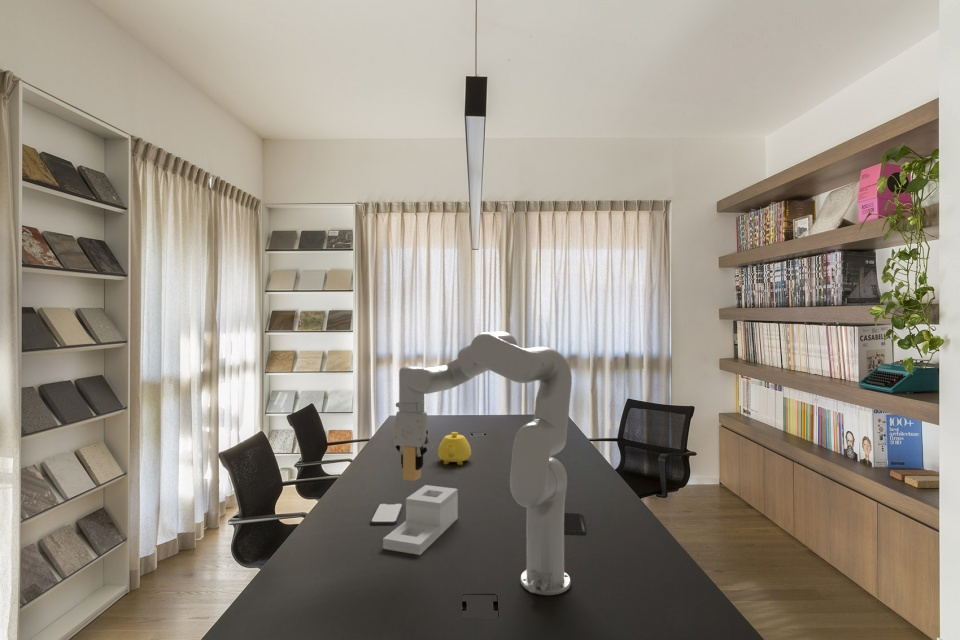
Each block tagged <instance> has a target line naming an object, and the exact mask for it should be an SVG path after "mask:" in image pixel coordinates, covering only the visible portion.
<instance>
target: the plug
mask: <svg viewBox="0 0 960 640" xmlns="http://www.w3.org/2000/svg"><path fill="white" fill-rule="evenodd" d="M416 456H417V451H416V447H409V446H403V468H402V480H403V481H405V480H406V481H411V482H412V481H413V482H416V481H418V480H419V479H420V478H422V468H421V469H419V470H416Z"/></svg>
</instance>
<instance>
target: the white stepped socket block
mask: <svg viewBox="0 0 960 640" xmlns="http://www.w3.org/2000/svg"><path fill="white" fill-rule="evenodd" d="M458 493H459V490H458V488H453V487H446V486H445V487H444V486H439V485H438V486H436V485H427V484H424V485H423V486H422V487H420V488H418V489H417V490H416V491H415V492H413V493H412V494H410V495H409V496H408V497H406V498H405V521H403V523H401V524H400V525H399V526H396V528H395V529H393V530H391V532H389V534H387V535H385V536H384V537H383V538H382V542H383V543H382V549H384V550H389V551H395V552H401V553H406V554H413V555H418V556H421V555H422V554H423V553H424V552H425V551H426V550H427V549H428V548H429V547H430V546H431V545H432V544H433V543H434V542H435V541H436V540H437V539H438V538H439V537H441V535H443V534H444V532H446V530H448V529H449V528H450V527H451V526H452V525H453V524H454V523H455V522H456V521H457V520H458V518H459V517H458V516H459V515H458V513H459V512H458V511H459V510H458V509H459V507H458V506H459V503H458V502H459V501H458V498H459V497H458V495H459V494H458Z"/></svg>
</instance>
